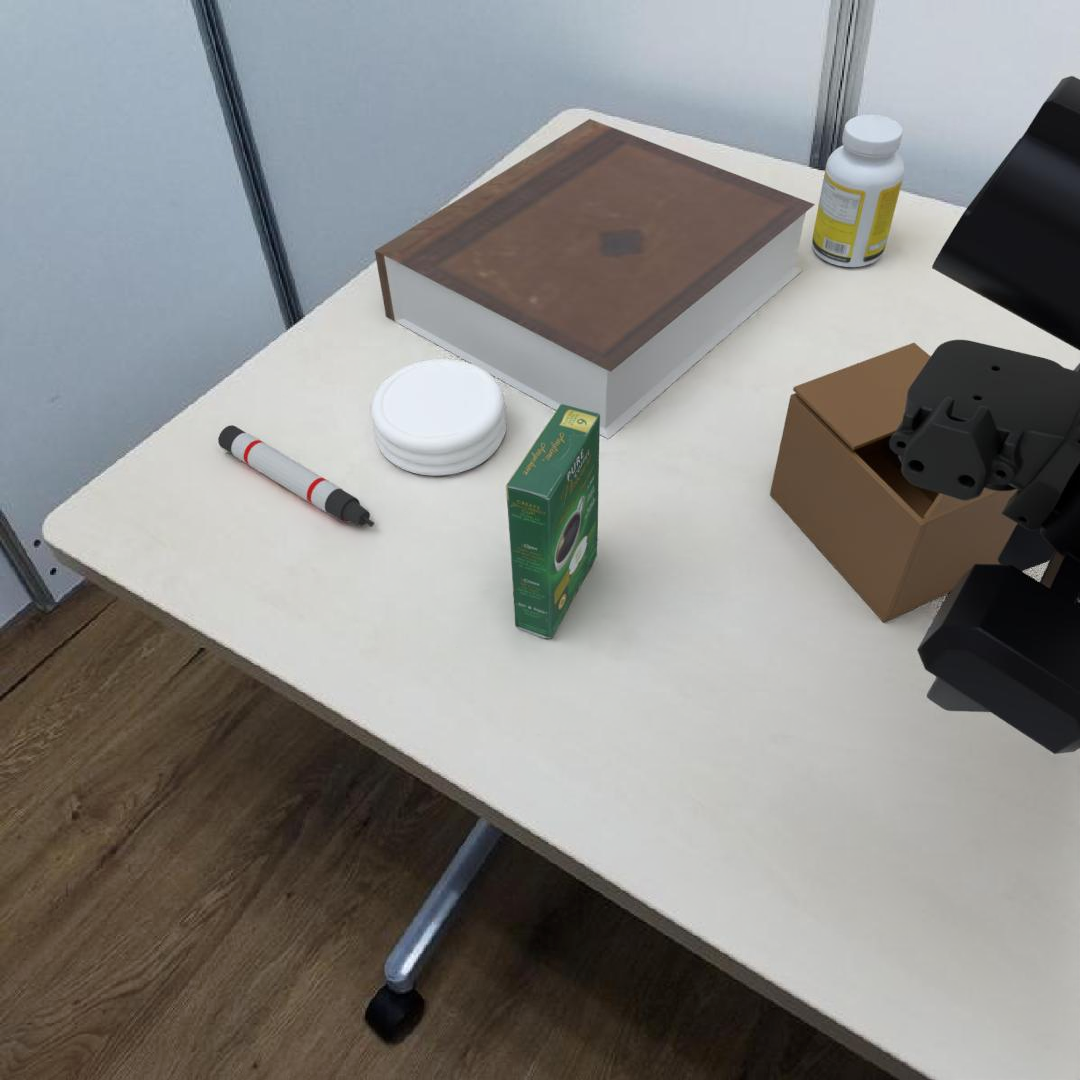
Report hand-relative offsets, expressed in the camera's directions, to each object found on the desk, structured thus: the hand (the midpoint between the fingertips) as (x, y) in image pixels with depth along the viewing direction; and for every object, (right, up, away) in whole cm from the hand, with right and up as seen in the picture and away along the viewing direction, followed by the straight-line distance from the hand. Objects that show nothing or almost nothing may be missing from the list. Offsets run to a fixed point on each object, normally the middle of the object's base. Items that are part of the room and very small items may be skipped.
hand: (974, 629), depth 46 cm
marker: (-37, +8, +28) cm, 47 cm away
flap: (+6, +9, +10) cm, 15 cm away
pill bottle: (+8, +30, +46) cm, 56 cm away
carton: (+4, +5, +24) cm, 24 cm away
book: (-15, +26, +43) cm, 52 cm away
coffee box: (-19, +1, +21) cm, 28 cm away
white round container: (-27, +12, +32) cm, 44 cm away
